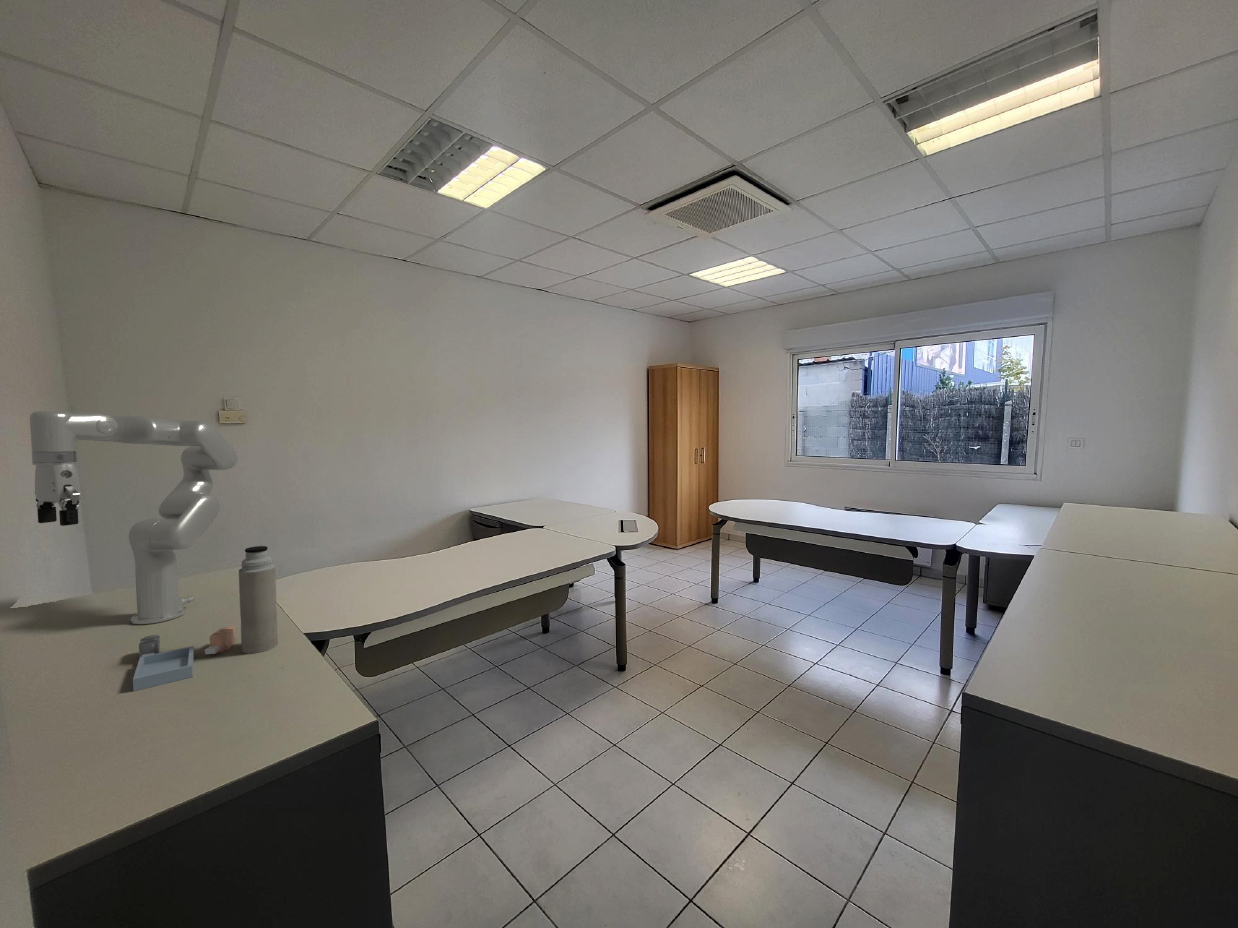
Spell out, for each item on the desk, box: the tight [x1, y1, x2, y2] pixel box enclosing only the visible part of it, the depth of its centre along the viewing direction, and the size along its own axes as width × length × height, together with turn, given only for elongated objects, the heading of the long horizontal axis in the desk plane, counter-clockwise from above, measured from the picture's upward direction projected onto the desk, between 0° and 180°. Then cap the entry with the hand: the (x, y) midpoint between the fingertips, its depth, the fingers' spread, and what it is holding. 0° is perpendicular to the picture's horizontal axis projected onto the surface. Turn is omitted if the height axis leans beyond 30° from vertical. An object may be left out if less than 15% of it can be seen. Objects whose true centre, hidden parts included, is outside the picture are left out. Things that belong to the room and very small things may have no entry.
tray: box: [132, 645, 195, 692], centre depth 116 cm, size 14×10×3 cm
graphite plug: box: [138, 634, 161, 659], centre depth 123 cm, size 10×4×4 cm, turn 41°
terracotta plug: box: [204, 626, 236, 655], centre depth 129 cm, size 10×4×4 cm, turn 15°
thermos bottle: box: [238, 545, 279, 655], centre depth 130 cm, size 8×8×28 cm
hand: (58, 523), depth 124 cm, fingers open, 9 cm apart
